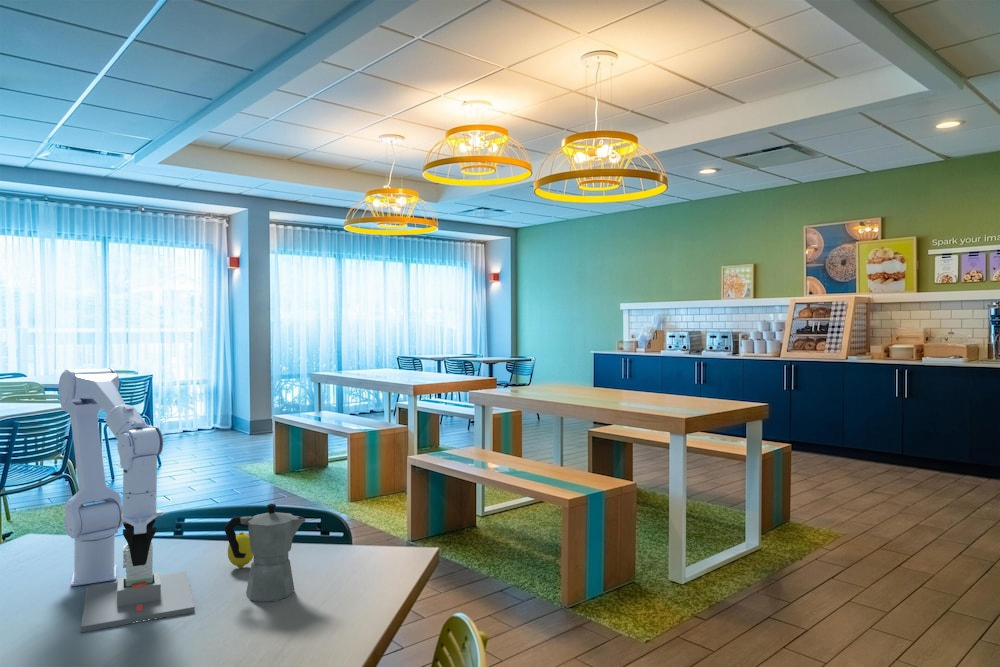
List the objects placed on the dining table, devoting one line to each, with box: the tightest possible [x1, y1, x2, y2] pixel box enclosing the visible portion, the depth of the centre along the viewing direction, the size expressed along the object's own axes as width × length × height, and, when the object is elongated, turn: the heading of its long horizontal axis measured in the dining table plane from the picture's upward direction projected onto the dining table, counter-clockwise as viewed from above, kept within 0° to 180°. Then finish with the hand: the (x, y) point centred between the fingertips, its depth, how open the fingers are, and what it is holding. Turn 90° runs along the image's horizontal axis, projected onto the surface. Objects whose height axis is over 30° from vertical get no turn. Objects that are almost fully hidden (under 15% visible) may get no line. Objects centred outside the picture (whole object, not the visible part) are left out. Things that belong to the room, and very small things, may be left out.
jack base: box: [80, 571, 196, 633], centre depth 129 cm, size 20×18×4 cm
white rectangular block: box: [122, 541, 154, 587], centre depth 129 cm, size 5×5×7 cm
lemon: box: [227, 531, 254, 569], centre depth 147 cm, size 6×6×8 cm
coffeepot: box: [224, 503, 307, 603], centre depth 133 cm, size 15×9×18 cm, turn 101°
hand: (139, 560), depth 129 cm, fingers closed on white rectangular block, 4 cm apart
